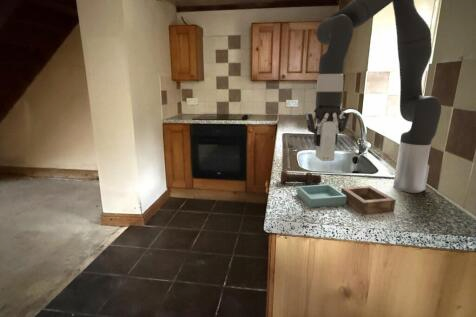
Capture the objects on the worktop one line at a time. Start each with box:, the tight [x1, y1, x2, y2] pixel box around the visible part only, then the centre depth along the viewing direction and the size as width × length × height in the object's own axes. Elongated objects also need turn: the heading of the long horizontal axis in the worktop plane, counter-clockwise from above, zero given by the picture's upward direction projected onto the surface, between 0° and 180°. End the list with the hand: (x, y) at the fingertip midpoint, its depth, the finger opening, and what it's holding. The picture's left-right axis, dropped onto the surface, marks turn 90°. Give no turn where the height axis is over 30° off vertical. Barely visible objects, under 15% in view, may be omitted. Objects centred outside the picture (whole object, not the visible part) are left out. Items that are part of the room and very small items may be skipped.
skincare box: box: [315, 121, 336, 162], centre depth 88 cm, size 6×4×12 cm
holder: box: [340, 185, 397, 216], centre depth 88 cm, size 10×12×4 cm
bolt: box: [280, 170, 322, 186], centre depth 107 cm, size 6×5×15 cm
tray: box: [296, 183, 347, 209], centre depth 93 cm, size 12×11×3 cm
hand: (324, 145), depth 88 cm, fingers closed on skincare box, 4 cm apart
